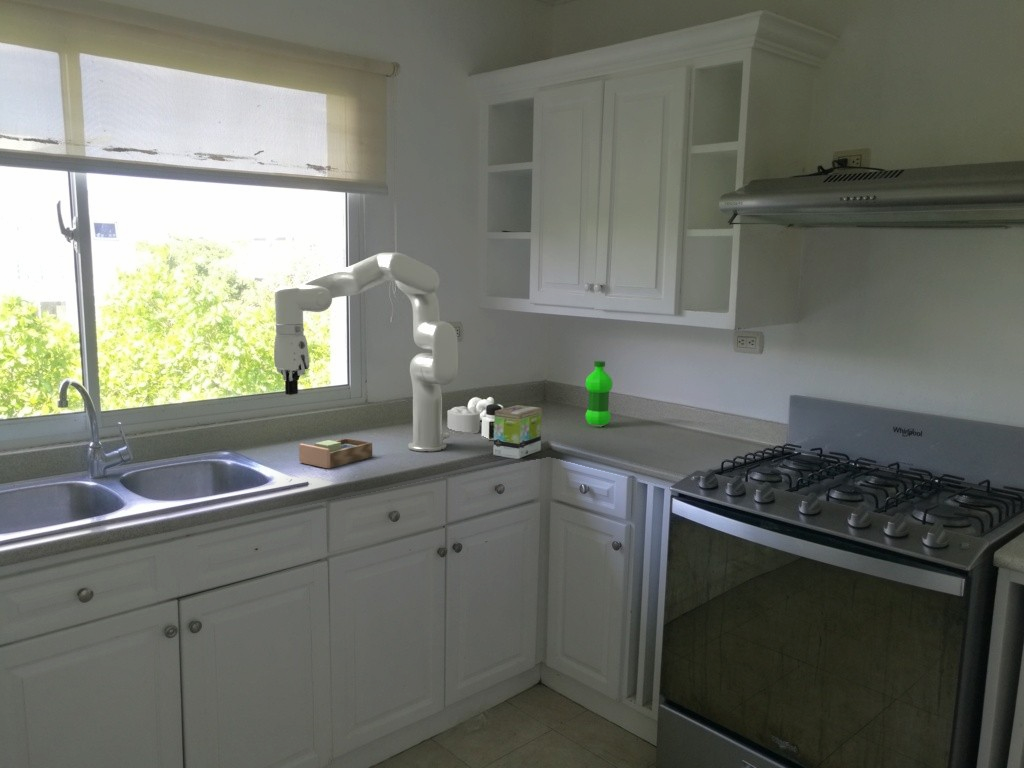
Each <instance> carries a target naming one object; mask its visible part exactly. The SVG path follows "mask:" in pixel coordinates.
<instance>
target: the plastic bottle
mask: <svg viewBox="0 0 1024 768" xmlns="http://www.w3.org/2000/svg"><path fill="white" fill-rule="evenodd" d="M593 366H594V367H595V368H594V369H595V370H593V371H592V372H591V373H590V374H588V376H587V377H586V379H585V387H586V390H587V391H588V399H587V400H588V404H587V405H588V406H587V407H588V408H587V410H586V412H585V420H586V422H587V423H588V425H590V424H594V425H605V424H607V425H608V424H609V423H610V421H611V417H612V416H611V414H610V413H611V412H610V411H609V410H610V409H609V402H610V401H609V400H610V399H609V397H610V391H611V390H612V389H613V380H612V377H611V375H610V374H608V372H606V371H605V369H604V368H605V367H606V361H605V360H594V361H593ZM605 426H606V425H605Z"/></svg>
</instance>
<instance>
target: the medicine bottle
mask: <svg viewBox="0 0 1024 768" xmlns="http://www.w3.org/2000/svg"><path fill="white" fill-rule="evenodd" d="M500 409H504V406H503V405H502V404H499V403H494V404H490V405H487V406H486V416H487V417H482V422H481V437H482V436H484V437H486V438H488V439H492V438H494V419H495V411H496V410H500Z"/></svg>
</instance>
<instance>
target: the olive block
mask: <svg viewBox="0 0 1024 768" xmlns="http://www.w3.org/2000/svg"><path fill="white" fill-rule="evenodd" d="M314 446H317V447H322V448H327V449H330V452H333V451H338V450H341V442H336V440H329V439H327V440H323V441H319V442H315V443H314Z"/></svg>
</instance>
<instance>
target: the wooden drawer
mask: <svg viewBox="0 0 1024 768" xmlns="http://www.w3.org/2000/svg"><path fill="white" fill-rule="evenodd" d="M354 446H356V445H351V444H342V445H341V450H342V449H346V448H350V447H354ZM298 458H299V459H298V461H299V463H301V464H306V465H311V466H316V467H319V468H325V469H331V468H330V449H327V448H322V447H317V446H315V445H313V444H306V443H299V444H298Z"/></svg>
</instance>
